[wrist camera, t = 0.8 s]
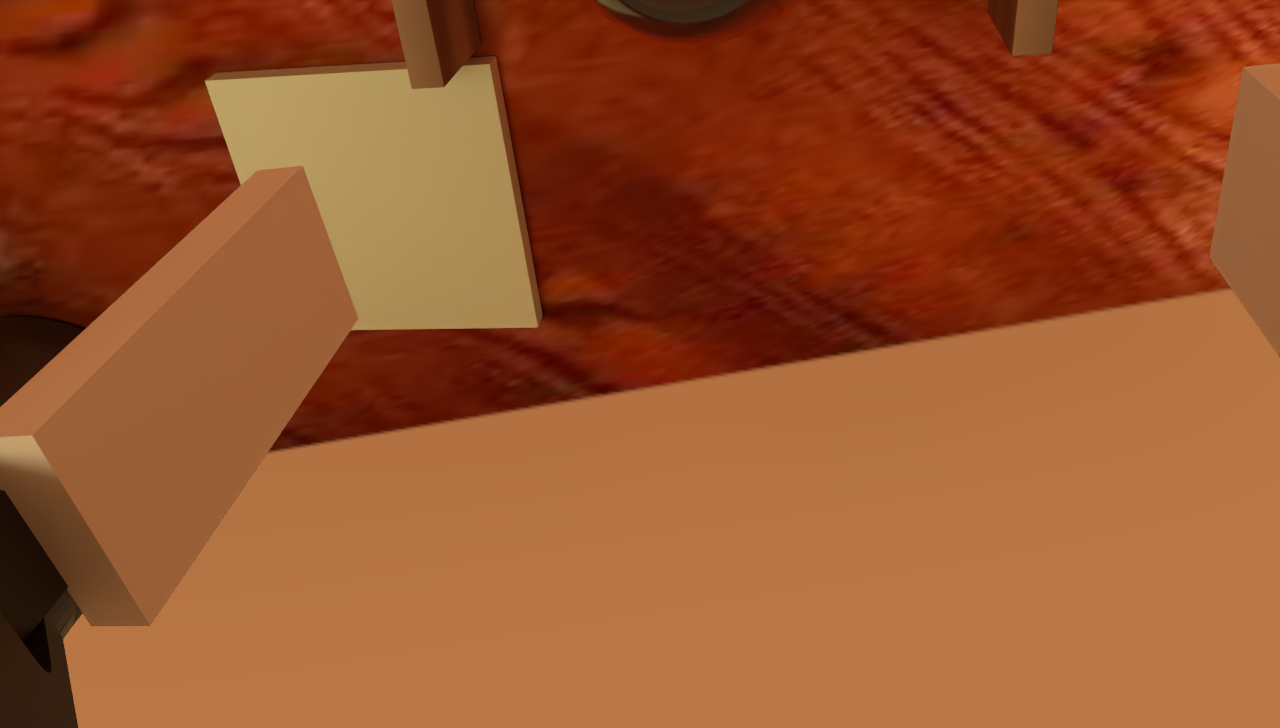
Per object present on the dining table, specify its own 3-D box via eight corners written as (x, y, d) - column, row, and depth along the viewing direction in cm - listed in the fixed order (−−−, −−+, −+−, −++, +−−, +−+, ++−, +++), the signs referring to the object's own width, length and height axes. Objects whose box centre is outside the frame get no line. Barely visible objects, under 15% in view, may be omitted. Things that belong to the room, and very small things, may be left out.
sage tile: (300, 319, 48) (291, 330, 47) (216, 72, 41) (204, 80, 40) (542, 315, 46) (538, 327, 45) (496, 55, 39) (489, 64, 38)
